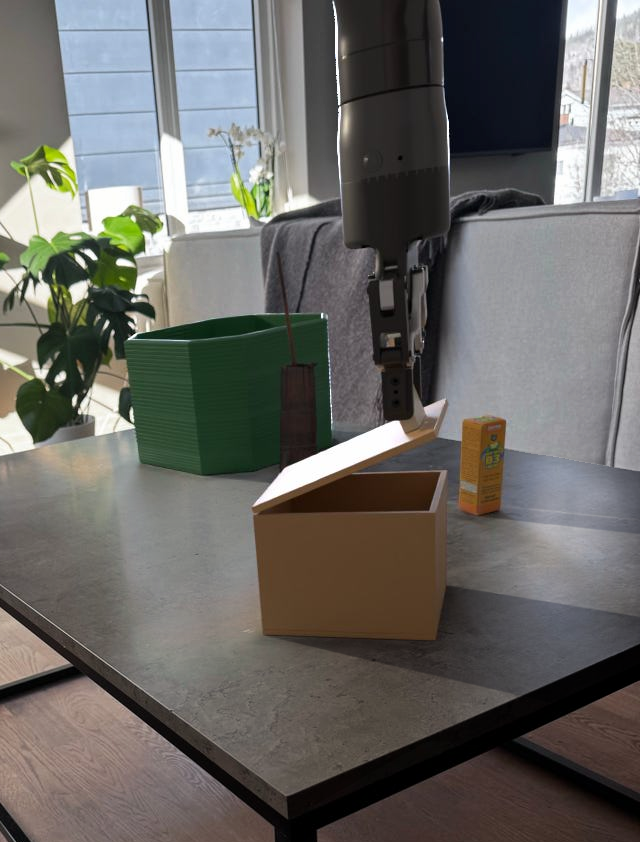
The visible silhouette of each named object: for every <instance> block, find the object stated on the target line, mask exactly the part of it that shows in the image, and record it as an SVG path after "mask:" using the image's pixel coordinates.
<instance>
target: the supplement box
mask: <svg viewBox="0 0 640 842" xmlns="http://www.w3.org/2000/svg"><path fill="white" fill-rule="evenodd" d="M461 425H462V426H461V446H460V448H461V450H460V453H461V454H460V471H459V473H460V474H459V493H458V494H459V495H458V509H459V510H460V511H463V512H465V513H468V514H472V515H475V516H483V515H486V514H489V513H493V512H496V511H500V510H501V503H502V493H503V492H502V491H503V478H504V477H503V476H504V463H505V462H504V461H505V449H506V448H505V446H506V432H507V420H506V419H504V418H502V417H500V416H499V417H498V416H495V415H492V414H491V415H490V414H483V415H479V416H476V417H475V416H474V417H470V418H465V419H463V420H462V423H461Z"/></svg>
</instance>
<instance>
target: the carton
mask: <svg viewBox="0 0 640 842" xmlns="http://www.w3.org/2000/svg"><path fill="white" fill-rule="evenodd" d="M252 520H253V533H254V534H253V535H254V545H255V558H256V559H255V560H256V569H257V579H258V580H257V581H258V582H257V583H258V593H259V605H260V618H261V629H262V635H263V636H264V635H265V636H289V637H290V636H291V637H292V636H293V637H294V636H295V637H322V638H346V639H347V638H349V639H377V640H406V641H407V640H408V641H436V638H437V634H438V629H439V624H440V618H441V615H442V609H443V604H444V599H445V595H446V590H447V583H448V581H447V580H448V579H447V578H448V470H447V469H442V470H441V469H439V470H437V469H436V470H404V471H375V472H374V471H373V472H371V471H369V472H367V471H366V472H355V473H352V474H350V475H347V476H345V477H343V478H340V479H338V480H335V481H333V482H331V483H328V484H326V485H323V486H321V487H318V488H316V489H314V490H311V491H309V492H306V493H304V494H302V495H299V496H297V497H294V498H292V499H289V500H287V501H285V502H282V503H280V504H277V505H275V506H273V507H270V508H268V509H265V510H263V511H261V512H258V513H256V514H254V513H253V515H252Z"/></svg>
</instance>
